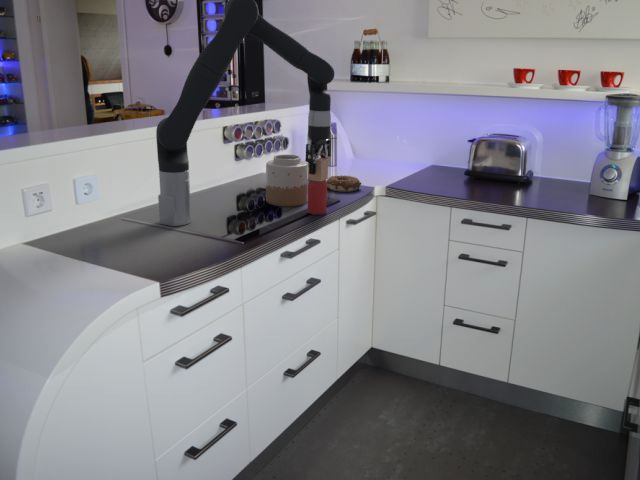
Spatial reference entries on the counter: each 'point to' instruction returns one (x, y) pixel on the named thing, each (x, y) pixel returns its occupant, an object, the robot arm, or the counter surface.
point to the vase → (286, 181)
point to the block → (319, 170)
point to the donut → (343, 183)
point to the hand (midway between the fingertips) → (318, 172)
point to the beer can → (317, 197)
